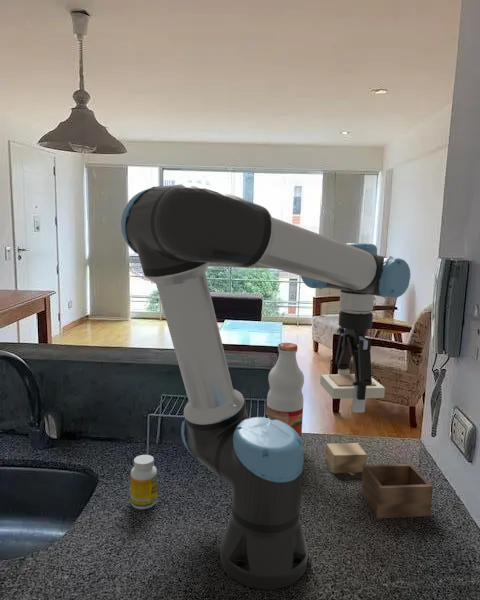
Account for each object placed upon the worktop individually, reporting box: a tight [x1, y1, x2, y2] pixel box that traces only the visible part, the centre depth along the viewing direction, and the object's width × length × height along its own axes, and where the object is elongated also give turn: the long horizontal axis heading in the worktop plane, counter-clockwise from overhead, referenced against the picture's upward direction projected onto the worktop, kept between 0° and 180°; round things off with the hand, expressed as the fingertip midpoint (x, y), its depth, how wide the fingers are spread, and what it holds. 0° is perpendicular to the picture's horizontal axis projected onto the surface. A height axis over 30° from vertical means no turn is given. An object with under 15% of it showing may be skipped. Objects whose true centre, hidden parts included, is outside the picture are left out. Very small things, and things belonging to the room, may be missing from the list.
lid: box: [319, 373, 386, 400], centre depth 109 cm, size 12×10×3 cm
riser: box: [324, 442, 368, 474], centre depth 112 cm, size 8×6×5 cm
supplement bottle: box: [129, 454, 158, 510], centre depth 95 cm, size 5×5×10 cm
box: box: [360, 463, 434, 519], centre depth 97 cm, size 11×9×7 cm
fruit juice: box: [265, 342, 305, 439], centre depth 119 cm, size 9×9×28 cm
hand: (349, 403), depth 110 cm, fingers closed on lid, 10 cm apart
